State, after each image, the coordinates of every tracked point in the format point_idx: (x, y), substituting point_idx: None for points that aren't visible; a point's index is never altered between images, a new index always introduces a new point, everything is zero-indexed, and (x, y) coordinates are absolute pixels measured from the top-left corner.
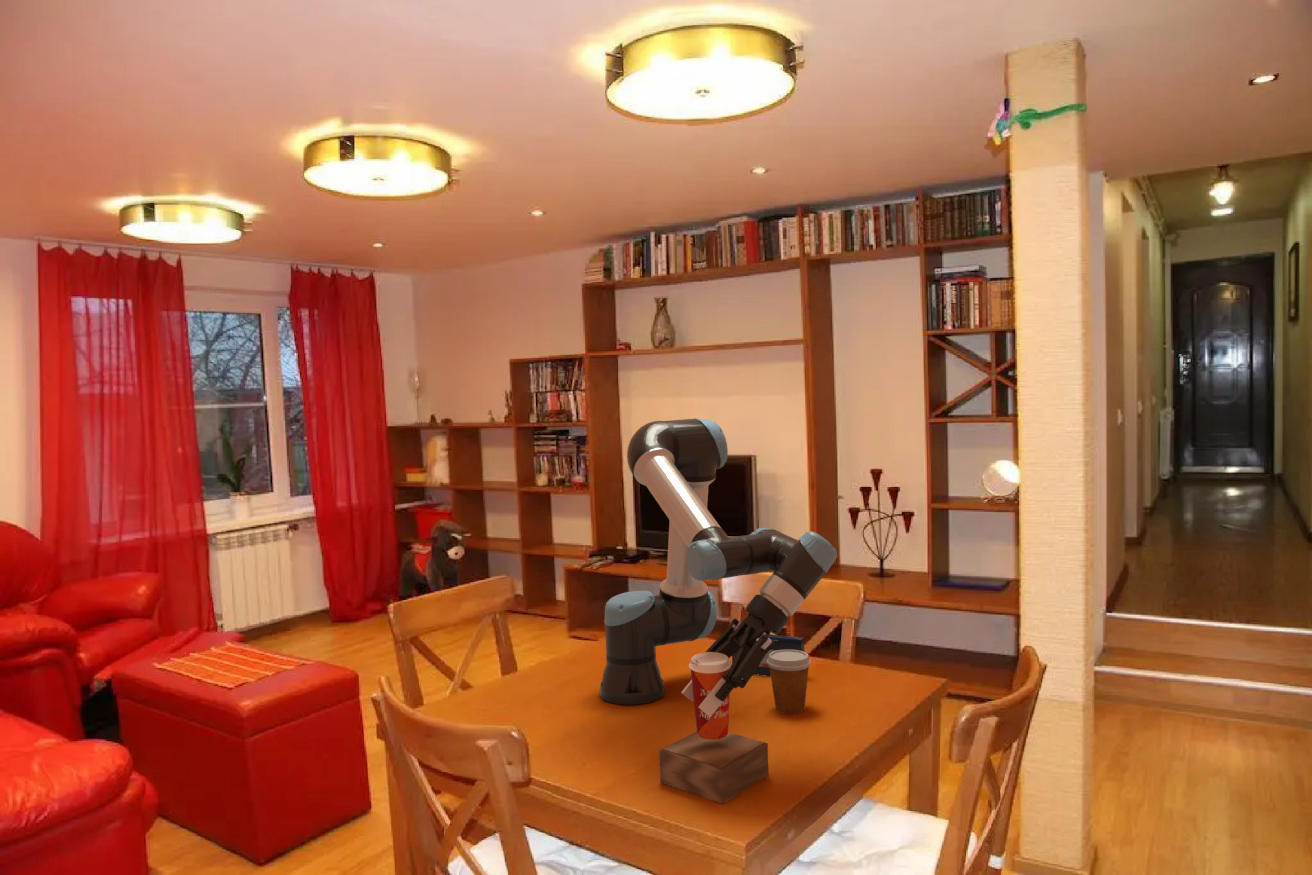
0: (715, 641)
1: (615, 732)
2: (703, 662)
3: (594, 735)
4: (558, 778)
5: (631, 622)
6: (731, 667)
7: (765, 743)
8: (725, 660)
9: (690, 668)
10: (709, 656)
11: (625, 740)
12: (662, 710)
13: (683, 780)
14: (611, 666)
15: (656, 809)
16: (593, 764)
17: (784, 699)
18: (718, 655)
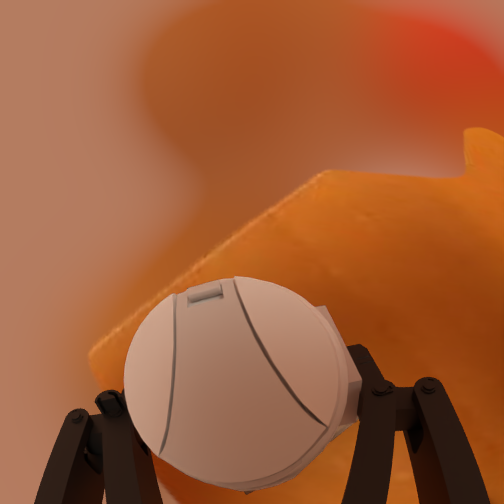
0: (467, 452)
1: (465, 265)
2: (177, 327)
3: (455, 237)
4: (327, 183)
5: None
6: (124, 447)
7: (247, 491)
8: (159, 446)
9: (222, 279)
10: (254, 387)
11: (441, 275)
12: None
13: None
14: None
15: (198, 283)
16: (365, 224)
17: None
18: (251, 443)
